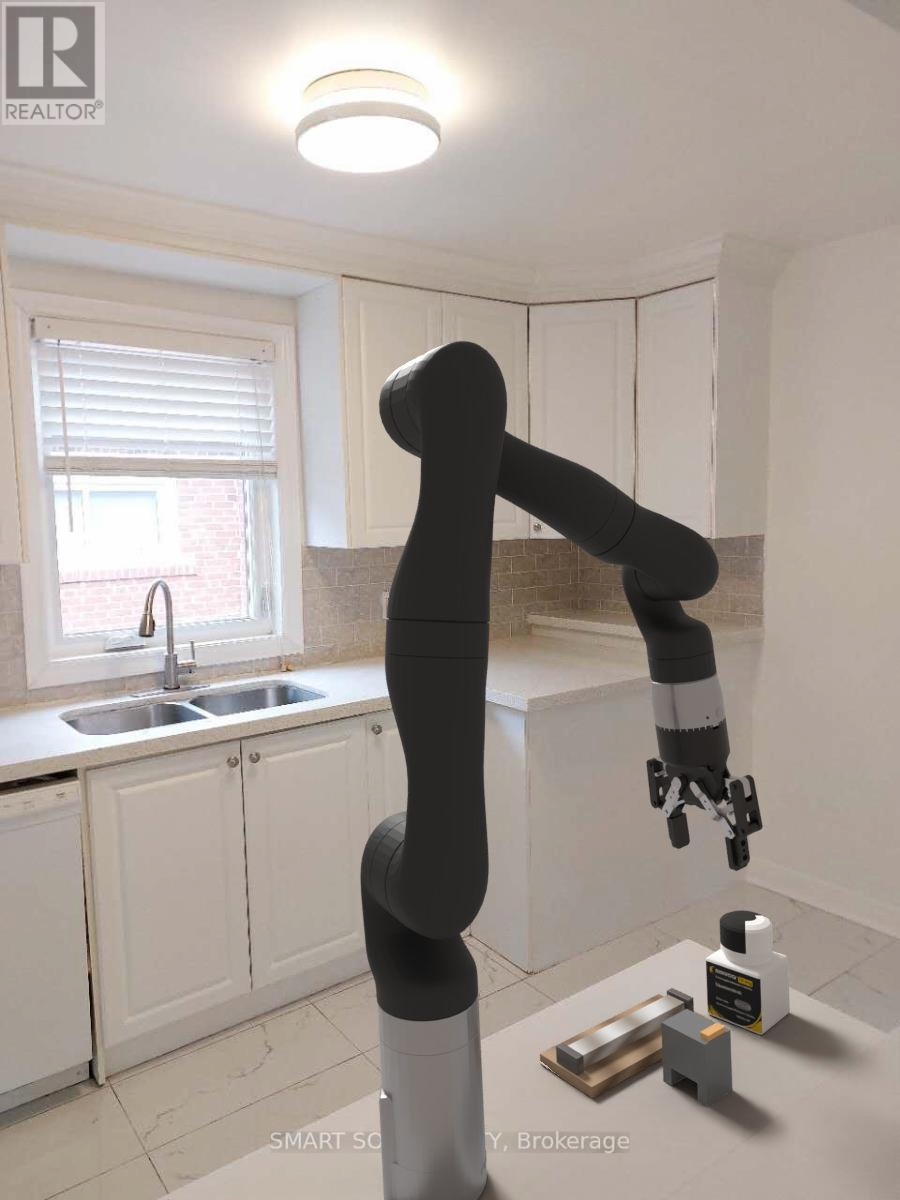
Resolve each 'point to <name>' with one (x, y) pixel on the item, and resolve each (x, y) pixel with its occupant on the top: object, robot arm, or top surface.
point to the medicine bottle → (747, 974)
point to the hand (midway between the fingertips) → (709, 856)
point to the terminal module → (697, 1054)
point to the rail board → (612, 1062)
